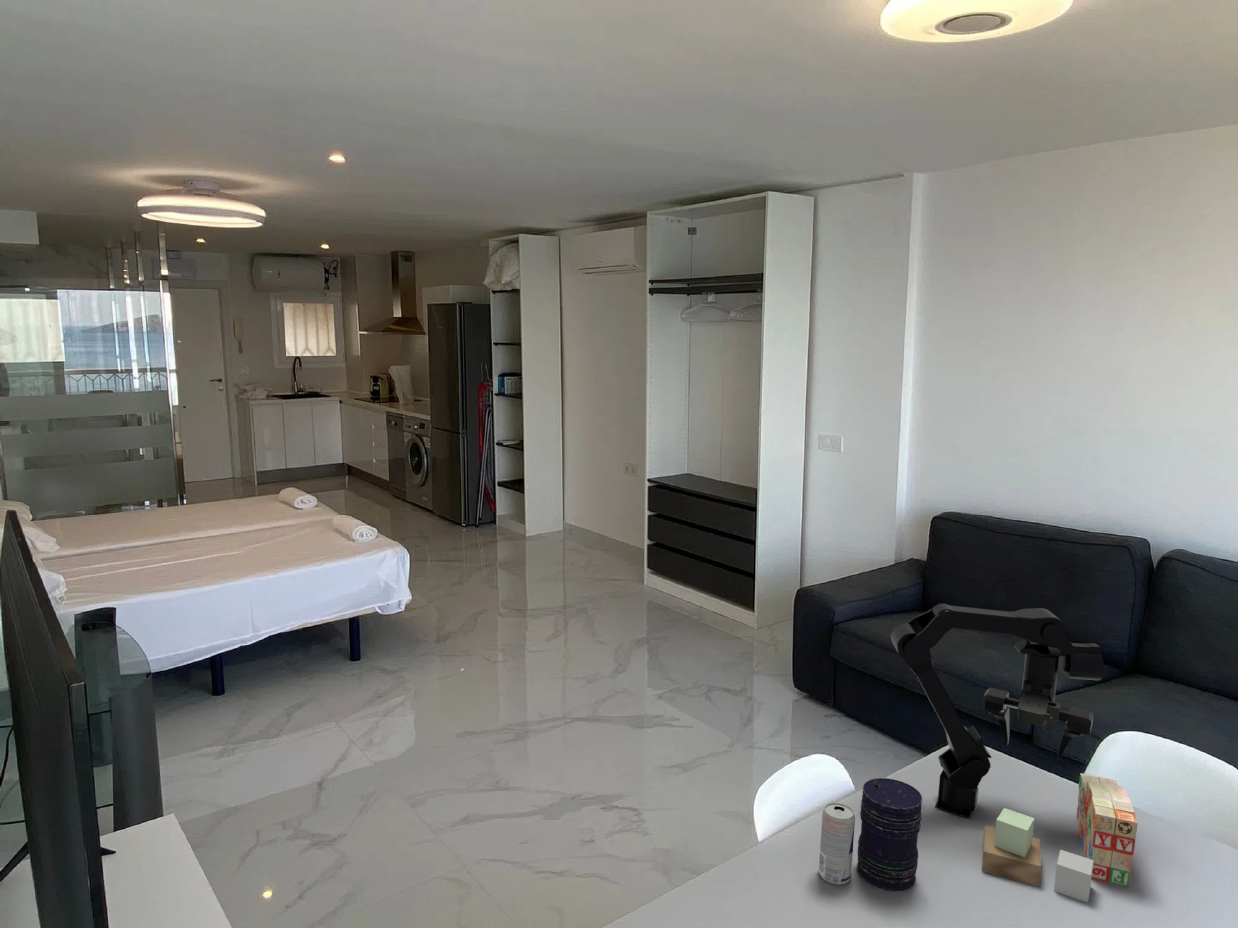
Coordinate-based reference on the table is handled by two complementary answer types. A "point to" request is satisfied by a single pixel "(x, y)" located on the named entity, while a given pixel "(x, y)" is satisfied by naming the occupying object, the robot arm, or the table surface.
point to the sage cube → (1014, 832)
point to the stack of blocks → (1106, 828)
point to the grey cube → (1073, 875)
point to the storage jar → (889, 834)
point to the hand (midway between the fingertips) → (1032, 751)
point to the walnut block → (1011, 860)
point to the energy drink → (836, 843)
